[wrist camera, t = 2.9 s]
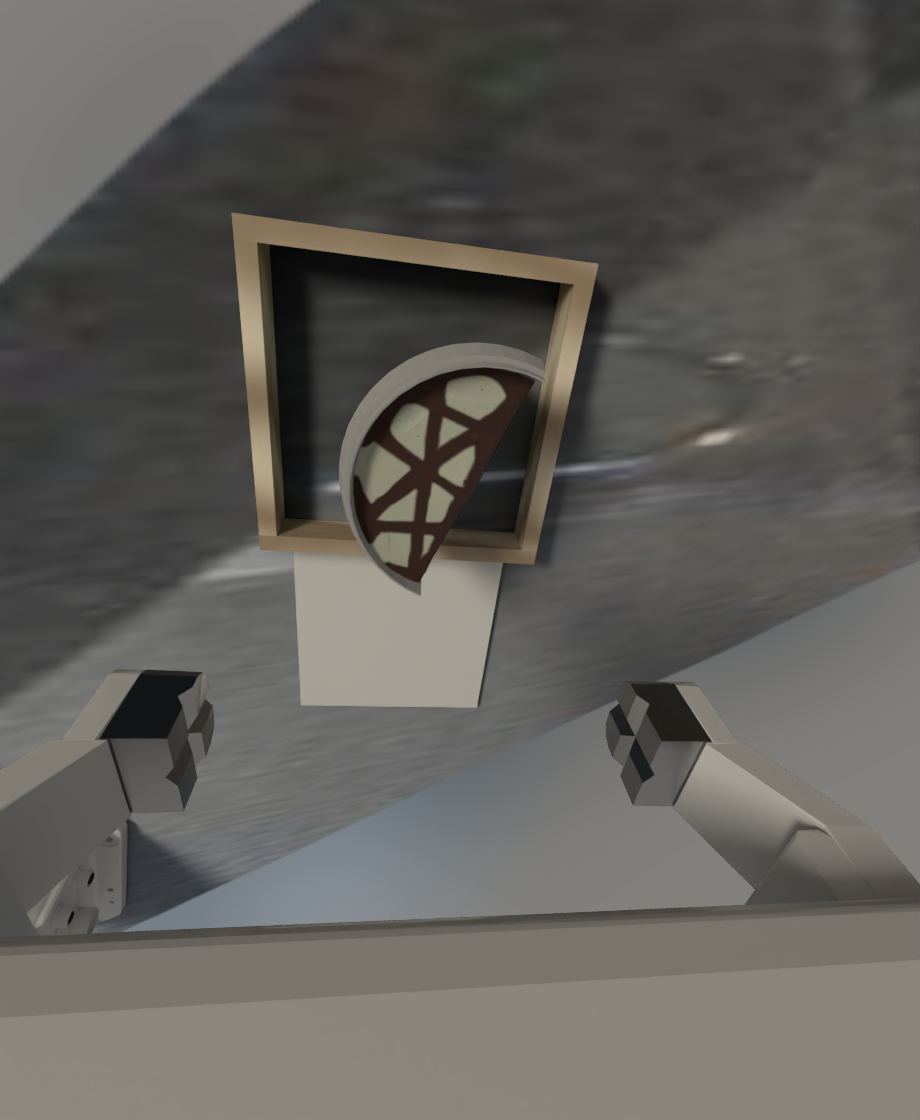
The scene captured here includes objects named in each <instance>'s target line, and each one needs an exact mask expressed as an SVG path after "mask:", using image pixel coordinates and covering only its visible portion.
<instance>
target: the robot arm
mask: <svg viewBox="0 0 920 1120" xmlns="http://www.w3.org/2000/svg"><path fill="white" fill-rule="evenodd" d="M209 689H210V686H209V682H208V677H207V674H205V673H203V672H186V671H164V670H128V669H116V670H114V671H113V672H111V673H110V674H108V676H107V677H106V678H105V680H104V681H103V683H102V684H101V685H100V687H99V688H98V689H97V691H96V692H95V694H94V695H93V696H92V698H91V699H90V701H89V702H88V703H87V705H86V706H85V707H84V709H83V710H82V712H81V713H80V714H79V716H78V717H77V719H76V720H75V721H74V723H73V724H72V726H71V727H70V728H69V730H68V731H67V732H66V734H65V735H64V737H63V738H62V739H61V740H50V741H49V742H47V743H45V744H44V745H42V746H40V747H39V748H37V749H35V750H33V751H32V752H30V753H28V754H27V755H25V756H23V757H22V758H20V759H18V760H16V761H15V762H13V763H11V764H10V765H8V766H6V767H5V768H3V769H1V770H0V1120H920V884H919V883H918V882H917V880H916V879H915V878H914V877H913V876H912V874H911V873H910V872H909V871H908V869H907V868H906V867H905V866H904V865H903V863H902V862H901V861H900V860H899V859H898V857H897V856H896V855H895V854H894V853H893V851H892V850H891V849H890V848H889V847H888V845H887V844H886V843H885V842H884V840H883V839H882V838H881V837H880V836H879V834H878V833H877V832H876V831H875V830H874V828H873V827H872V826H870V825H868V824H867V823H865V822H864V821H862V820H861V819H859V818H858V817H856V816H855V815H853V814H852V813H850V812H849V811H847V810H846V809H844V808H843V807H841V806H840V805H838V804H837V803H835V802H834V801H832V800H831V799H829V798H828V797H826V796H824V795H823V794H822V793H820V792H818V791H817V790H816V789H814V788H812V787H811V786H809V785H808V784H806V783H805V782H803V781H802V780H800V779H799V778H797V777H796V776H794V775H793V774H791V773H790V772H788V771H787V770H785V769H784V768H782V767H781V766H779V765H778V764H776V763H775V762H773V761H772V760H770V759H769V758H767V757H766V756H764V755H762V754H761V753H760V752H758V751H757V750H755V749H753V748H752V747H751V746H749V745H748V744H746V743H738V742H737V741H736V739H735V738H734V736H733V735H732V733H731V732H730V730H729V729H728V728H727V726H726V725H725V723H724V722H723V720H722V719H721V718H720V716H719V715H718V713H717V712H716V710H715V709H714V708H713V706H712V705H711V703H710V702H709V700H708V699H707V698H706V696H705V695H704V693H703V692H702V690H701V689H700V688H699V686H697V685H696V684H695V683H693V682H625V681H623V683H622V684H621V685H620V686H619V687H618V690H617V693H616V695H615V696H616V698H617V700H618V702H619V704H618V705H617V706H616V707H614V708H613V709H612V710H611V711H610V712H609V716H608V719H607V722H606V738H607V743H608V747H609V749H610V752H611V754H612V757H613V758H614V759H615V760H617V761H618V762H619V763H620V764H621V765H622V766H624V767H623V770H622V773H621V778H622V781H623V783H624V785H625V788H626V790H627V792H628V795H629V797H630V799H631V802H632V804H633V805H643V806H674V809H675V810H676V811H677V812H678V813H679V814H680V815H681V816H682V817H683V818H684V819H685V820H686V821H687V822H688V823H689V824H690V825H691V826H692V827H693V828H694V829H695V830H696V831H697V832H698V833H699V834H700V835H701V836H702V837H703V838H704V839H705V840H706V841H707V842H708V843H709V844H710V845H711V846H712V847H713V848H714V849H715V850H716V851H717V852H718V853H719V854H720V855H721V856H722V857H723V858H724V859H725V860H726V861H727V862H728V863H729V864H730V865H731V866H732V867H733V868H734V869H735V870H736V871H737V872H738V873H739V874H740V875H741V876H742V877H743V878H744V879H745V880H746V881H747V882H748V883H749V884H750V885H751V886H752V887H753V888H754V889H755V891H754V892H753V894H752V895H751V896H750V898H749V899H748V901H747V902H746V903H745V905H734V906H712V907H689V908H666V909H643V910H621V911H598V912H576V913H552V914H530V915H506V916H484V917H483V916H482V917H460V918H459V917H458V918H435V919H412V920H388V921H366V922H343V923H321V924H297V925H274V926H250V927H227V928H205V929H182V930H160V931H159V930H158V931H135V932H112V933H92V932H93V930H94V928H95V925H96V923H98V922H102V921H106V920H109V919H111V918H114V917H116V916H118V915H120V914H121V912H122V910H123V908H124V907H125V904H126V883H127V823H126V820H128V819H129V818H130V817H131V815H130V813H155V812H180V811H184V809H185V807H186V805H187V802H188V800H189V797H190V795H191V792H192V790H193V787H194V785H195V782H196V780H197V774H196V769H195V765H196V764H197V763H199V762H200V761H201V760H202V759H204V758H205V757H206V755H207V752H208V749H209V747H210V744H211V740H212V735H213V730H214V711H213V706H212V705H211V704H210V703H209V702H208V701H207V700H206V699H205V698H206V696H207V693H208V691H209Z"/></svg>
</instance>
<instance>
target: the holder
mask: <svg viewBox="0 0 920 1120" xmlns="http://www.w3.org/2000/svg"><path fill="white" fill-rule="evenodd" d="M232 223H233V234H234V246H235V258H236V270H237V281H238V293H239V305H240V316H241V328H242V340H243V352H244V363H245V375H246V387H247V398H248V410H249V422H250V434H251V445H252V457H253V469H254V480H255V492H256V504H257V516H258V527H259V539H260V550H273V551H292V552H310V553H329V554H347V555H366V554H365V552H364V551H363V550H362V548H361V547H360V545H359V543H358V541H357V540H356V538H355V536H354V534H353V532H352V530H351V527H350V524H349V522H340V521H324V520H308V519H292V518H285V509H284V491H283V473H282V456H281V438H280V420H279V403H278V385H277V368H276V350H275V332H274V315H273V297H272V279H271V262H270V244H273V245H280V246H288V247H295V248H303V249H310V250H318V251H326V252H333V253H341V254H348V255H356V256H363V257H371V258H378V259H386V260H393V261H401V262H408V263H416V264H423V265H431V266H438V267H446V268H454V269H461V270H469V271H476V272H484V273H491V274H499V275H506V276H514V277H521V278H529V279H536V280H544V281H551V282H559V283H561V285H560V291H559V296H558V301H557V307H556V312H555V317H554V323H553V328H552V333H551V339H550V344H549V349H548V355H547V360H546V365H545V370H546V373H545V375H544V376H543V378H544V379H545V380H546V383H544V382H542V387H541V392H540V398H539V403H538V408H537V414H536V419H535V424H534V430H533V435H532V440H531V446H530V451H529V456H528V462H527V467H526V472H525V478H524V483H523V488H522V494H521V499H520V504H519V510H518V515H517V520H516V526H515V531H514V532H501V531H485V530H469V529H453V528H450V530H449V531H448V533H447V535H446V536H445V538H444V540H443V541H442V543H441V545H440V546H439V548H438V550H437V552H436V553H435V555H434V557H433V558H432V559H441V560H459V561H478V562H496V563H515V564H534V562H535V557H536V552H537V548H538V543H539V538H540V534H541V529H542V524H543V520H544V515H545V510H546V506H547V501H548V496H549V492H550V487H551V483H552V478H553V473H554V469H555V464H556V459H557V455H558V450H559V445H560V441H561V436H562V431H563V427H564V422H565V418H566V413H567V408H568V404H569V399H570V394H571V390H572V385H573V380H574V376H575V371H576V366H577V362H578V357H579V353H580V348H581V343H582V339H583V334H584V329H585V325H586V320H587V315H588V311H589V306H590V301H591V297H592V292H593V288H594V283H595V278H596V274H597V269H598V264H595V263H588V262H581V261H573V260H566V259H559V258H552V257H545V256H538V255H530V254H523V253H516V252H509V251H502V250H495V249H487V248H480V247H473V246H466V245H459V244H452V243H444V242H437V241H430V240H423V239H416V238H409V237H401V236H394V235H387V234H380V233H373V232H366V231H358V230H351V229H344V228H337V227H330V226H323V225H315V224H308V223H301V222H294V221H287V220H280V219H272V218H265V217H258V216H251V215H244V214H237V213H232ZM366 556H367V555H366Z"/></svg>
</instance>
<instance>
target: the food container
mask: <svg viewBox="0 0 920 1120" xmlns="http://www.w3.org/2000/svg"><path fill="white" fill-rule="evenodd" d="M545 373H546V370H545V367H544V364H543V361H542V360H541V359H539V358H537V357H535V356H533V355H530V354H528V353H526V352H524V351H521V350H518V349H514V348H510V347H507V346H503V345H498V344H488V343H478V342H477V343H463V344H453V345H448V346H444V347H440V348H436V349H432V350H429V351H427V352H425V353H422V354H420V355H418V356H415V357H413V358H411V359H409V360H407V361H406V362H404V363H403V364H401V365H399V366H398V367H396V368H395V369H393V370H392V371H390V372H389V373H388V374H387V375H386V376H385V377H383V378H382V379H381V380H380V381H379V382H378V383H377V384H376V385H375V386H374V387H373V388H372V389H371V390H370V392H369V393H368V394H367V395H366V397H365V398H364V399H363V401H362V402H361V403H360V404H359V406H358V408H357V410H356V412H355V414H354V415H353V417H352V419H351V421H350V423H349V425H348V428H347V431H346V434H345V437H344V440H343V443H342V449H341V455H340V462H339V485H340V490H341V495H342V501H343V505H344V509H345V512H346V516H347V519H348V521H349V524H350V527H351V530H352V532H353V534H354V536H355V538H356V540H357V541H358V543H359V545H360V547H361V548H362V550H363V551H364V552H365V554H366V555H367V556H368V557H369V559H370V560H371V561H372V562H373V564H375V565H376V566H377V568H378V569H380V570H381V571H382V572H383V573H384V574H385V575H386V576H387V577H388V578H389V579H391V580H392V581H393V582H395V583H396V584H398V585H399V586H401V587H402V588H404V589H405V590H407V591H410V592H412V593H414V594H416V595H418V596H421V579H422V577H423V575H424V574H425V573H426V571H427V569H428V566H429V564H430V562H431V560H432V558H433V557H434V555H435V553H436V552H437V550H438V548H439V546H440V545H441V543H442V541H443V540H444V538H445V536H446V535H447V533H448V531H449V530H450V528H451V527H452V525H453V523H454V522H455V520H456V519H457V517H458V516H459V514H460V512H461V511H462V509H463V508H464V506H465V505H466V503H467V501H468V500H469V498H470V497H471V495H472V494H473V492H474V490H475V488H476V486H477V484H478V482H479V480H480V478H481V477H482V475H483V473H484V471H485V469H486V467H487V465H488V463H489V461H490V460H491V458H492V456H493V454H494V452H495V451H496V449H497V447H498V445H499V443H500V441H501V440H502V438H503V436H504V434H505V433H506V431H507V429H508V427H509V426H510V424H511V422H512V420H513V419H514V417H515V415H516V414H517V412H518V410H519V408H520V407H521V405H522V403H523V401H524V400H525V398H526V396H527V394H528V393H529V391H530V389H531V387H532V386H533V384H534V382H535V380H538V381H541V382H544V383H546V380H545V379H544V378H543V376H544V375H545ZM534 379H535V380H534Z"/></svg>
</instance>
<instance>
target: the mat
mask: <svg viewBox="0 0 920 1120" xmlns="http://www.w3.org/2000/svg"><path fill="white" fill-rule="evenodd" d="M502 566H503V563H496V562H478V561H459V560H441V559H432V560H431V562H430V564H429V566H428V569H427V571H426V573H425V574H424V575H423V577H422V579H421V596H418V595H416V594H414V593H412V592H410V591H407V590H405V589H404V588H402V587H401V586H399V585H398V584H396V583H395V582H393V581H392V580H391V579H389V578H388V577H387V576H386V575H385V574H384V573H383V572H382V571H381V570H380V569H378V568H377V566H376V565H375V564H373V562H372V561H371V560H370V559H369V557H368V556H366V555H347V554H329V553H310V552H294V572H295V593H296V613H297V633H298V653H299V673H300V694H301V705H325V706H397V707H470V708H477V704H478V698H479V693H480V687H481V682H482V676H483V671H484V665H485V660H486V654H487V649H488V643H489V637H490V632H491V626H492V621H493V615H494V610H495V604H496V599H497V593H498V588H499V582H500V577H501V571H502Z"/></svg>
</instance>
